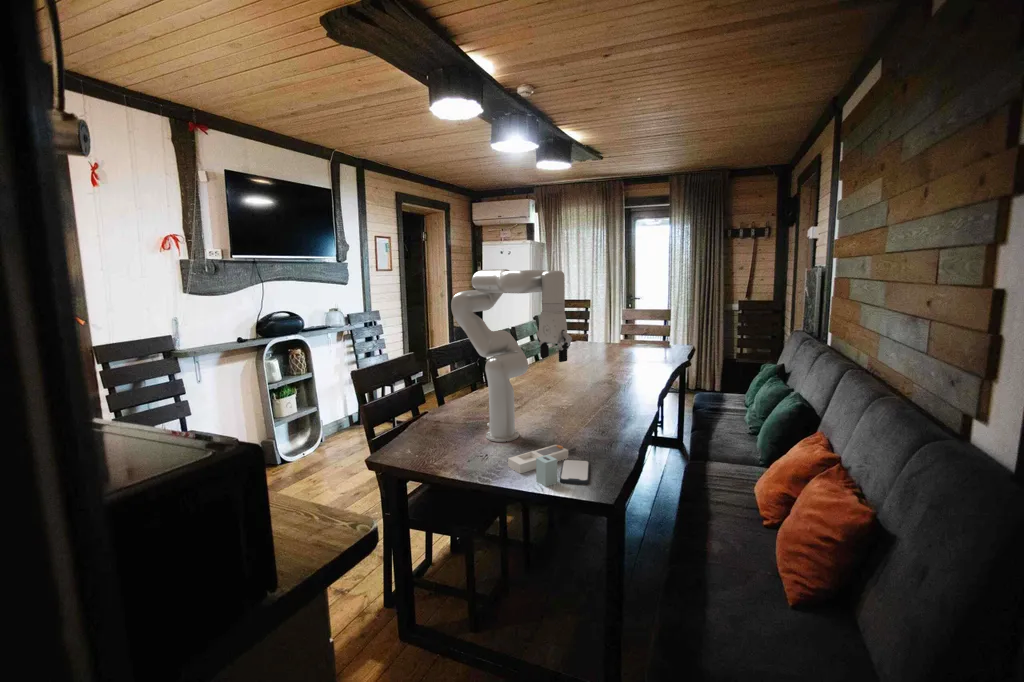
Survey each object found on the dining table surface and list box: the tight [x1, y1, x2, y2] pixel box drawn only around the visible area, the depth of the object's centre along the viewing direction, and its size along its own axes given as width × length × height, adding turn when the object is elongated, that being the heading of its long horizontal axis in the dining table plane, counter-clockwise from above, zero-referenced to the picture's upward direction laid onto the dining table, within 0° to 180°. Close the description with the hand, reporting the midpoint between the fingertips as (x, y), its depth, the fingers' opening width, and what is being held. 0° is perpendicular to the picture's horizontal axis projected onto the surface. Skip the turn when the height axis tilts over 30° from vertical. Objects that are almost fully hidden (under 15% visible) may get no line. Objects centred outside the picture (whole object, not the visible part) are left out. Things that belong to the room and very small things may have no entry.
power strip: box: [507, 444, 577, 474], centre depth 166 cm, size 6×26×4 cm, turn 124°
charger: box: [535, 455, 558, 488], centre depth 150 cm, size 4×4×8 cm
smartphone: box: [559, 459, 590, 485], centre depth 157 cm, size 9×2×16 cm
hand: (553, 359), depth 167 cm, fingers open, 9 cm apart
